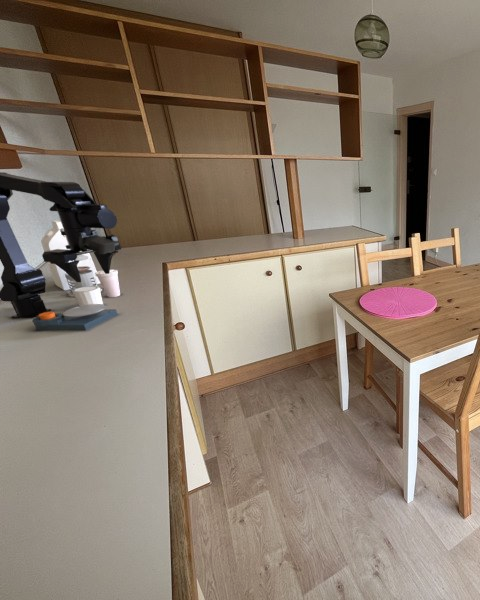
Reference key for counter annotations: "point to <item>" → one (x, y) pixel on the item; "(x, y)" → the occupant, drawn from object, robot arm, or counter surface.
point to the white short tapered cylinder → (88, 295)
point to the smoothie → (109, 282)
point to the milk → (58, 241)
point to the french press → (81, 275)
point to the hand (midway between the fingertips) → (93, 277)
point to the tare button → (46, 315)
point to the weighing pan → (84, 310)
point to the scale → (74, 321)
